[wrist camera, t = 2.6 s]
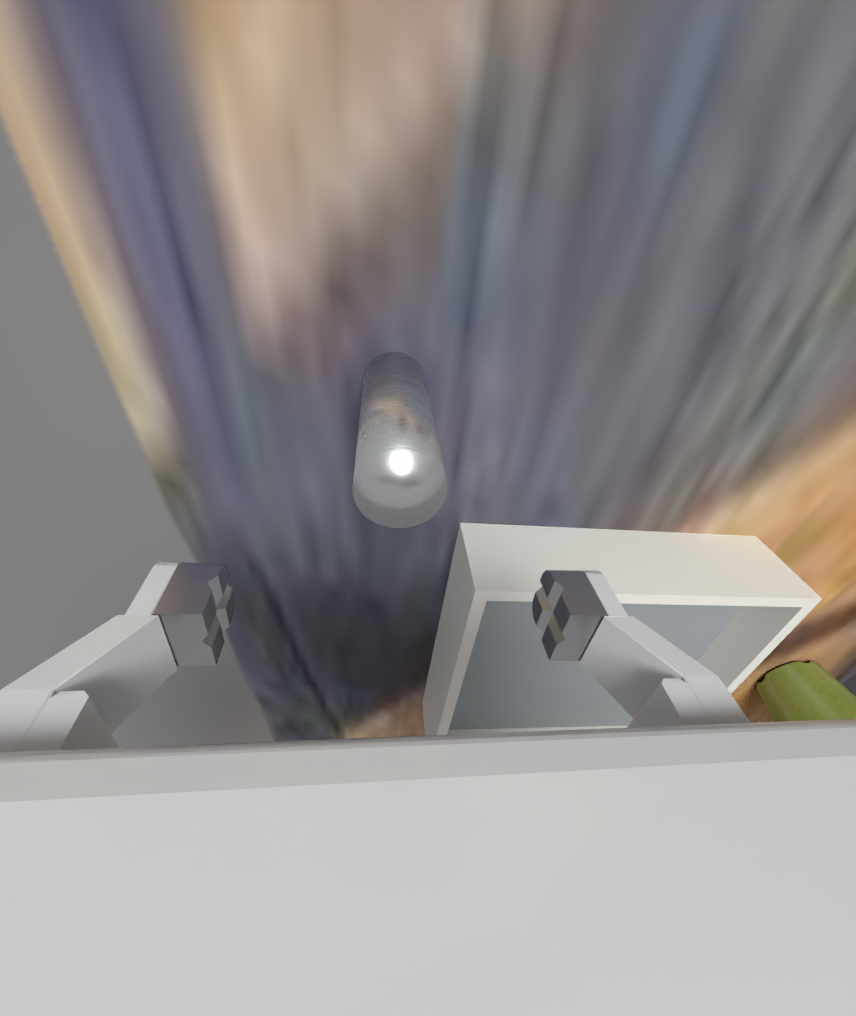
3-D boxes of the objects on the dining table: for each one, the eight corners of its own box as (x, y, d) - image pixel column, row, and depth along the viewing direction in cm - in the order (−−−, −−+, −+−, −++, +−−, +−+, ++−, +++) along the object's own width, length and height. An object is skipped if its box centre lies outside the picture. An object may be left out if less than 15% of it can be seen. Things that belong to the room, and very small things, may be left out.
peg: (428, 355, 22) (454, 452, 14) (421, 414, 24) (440, 529, 16) (364, 349, 21) (353, 446, 13) (362, 409, 23) (351, 526, 15)
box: (755, 536, 32) (822, 598, 27) (634, 700, 44) (665, 762, 40) (460, 522, 29) (475, 590, 24) (422, 702, 41) (427, 770, 37)
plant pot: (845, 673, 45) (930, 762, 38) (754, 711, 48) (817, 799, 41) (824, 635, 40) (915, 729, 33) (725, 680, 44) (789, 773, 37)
